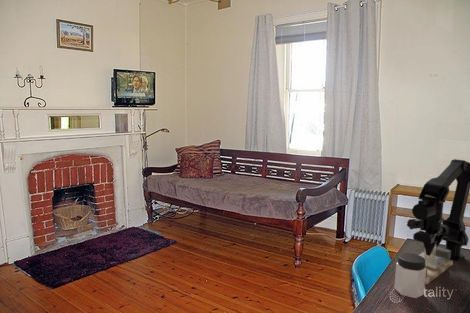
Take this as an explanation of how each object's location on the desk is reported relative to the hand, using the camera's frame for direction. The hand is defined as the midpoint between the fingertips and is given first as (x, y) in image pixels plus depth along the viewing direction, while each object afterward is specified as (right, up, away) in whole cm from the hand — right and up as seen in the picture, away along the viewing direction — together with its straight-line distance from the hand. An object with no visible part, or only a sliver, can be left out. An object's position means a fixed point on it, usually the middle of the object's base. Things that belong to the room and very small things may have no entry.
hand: (429, 254), depth 137 cm
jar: (-16, -8, -17) cm, 25 cm away
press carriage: (0, -4, +1) cm, 4 cm away
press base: (-1, -6, 0) cm, 6 cm away
